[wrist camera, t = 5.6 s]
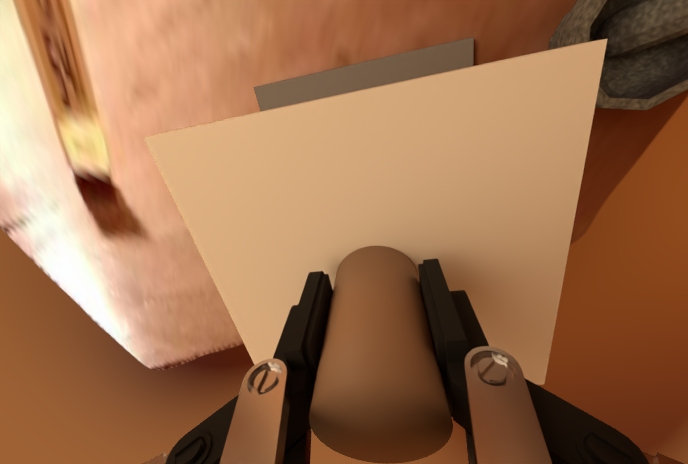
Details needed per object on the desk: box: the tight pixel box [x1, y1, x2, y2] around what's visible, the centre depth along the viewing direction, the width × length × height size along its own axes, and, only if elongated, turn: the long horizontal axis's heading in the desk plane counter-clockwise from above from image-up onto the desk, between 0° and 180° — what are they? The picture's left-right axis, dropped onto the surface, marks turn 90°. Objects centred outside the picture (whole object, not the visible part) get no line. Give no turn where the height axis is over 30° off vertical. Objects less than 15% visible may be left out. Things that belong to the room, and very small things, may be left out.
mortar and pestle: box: [549, 0, 688, 110], centre depth 19 cm, size 11×9×12 cm
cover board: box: [143, 39, 607, 463], centre depth 10 cm, size 15×15×7 cm
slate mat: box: [254, 37, 474, 111], centre depth 30 cm, size 20×20×1 cm
